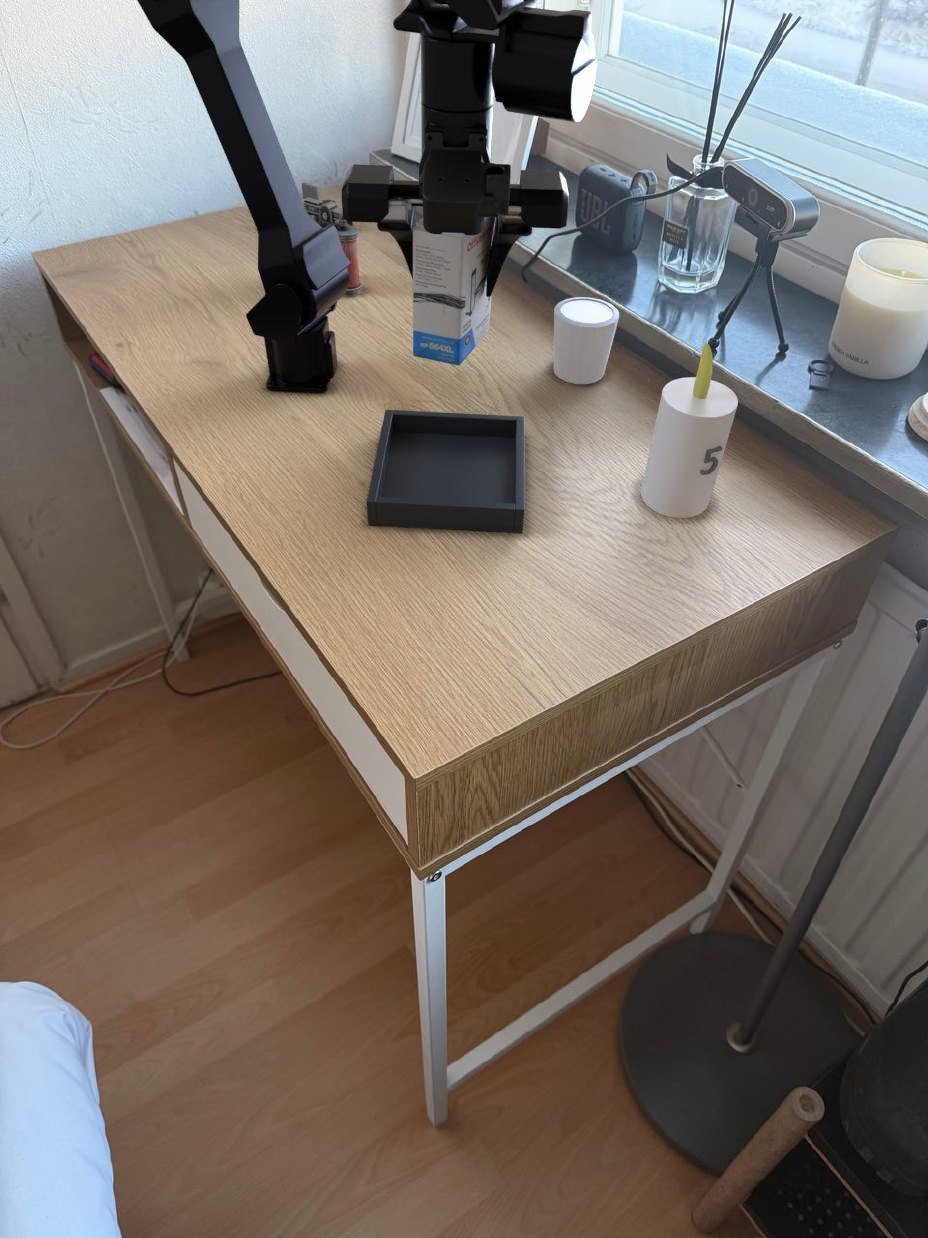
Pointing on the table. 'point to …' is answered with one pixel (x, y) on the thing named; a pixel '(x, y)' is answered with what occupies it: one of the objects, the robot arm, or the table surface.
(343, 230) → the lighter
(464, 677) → the table surface
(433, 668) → the table surface
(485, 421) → the tray
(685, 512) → the candle
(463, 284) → the ink box
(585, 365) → the white cylinder
